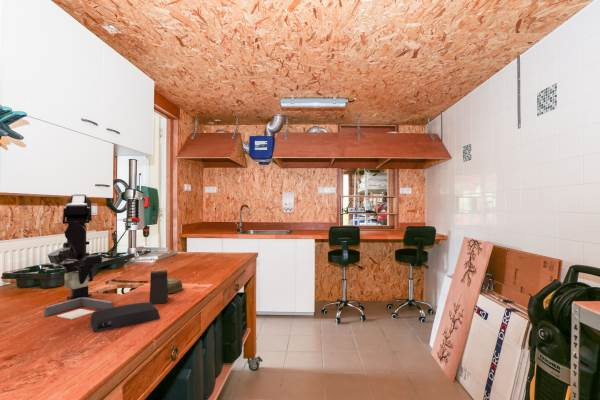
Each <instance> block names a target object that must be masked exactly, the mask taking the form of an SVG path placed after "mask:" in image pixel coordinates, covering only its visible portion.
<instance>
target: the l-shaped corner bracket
mask: <svg viewBox="0 0 600 400" xmlns="http://www.w3.org/2000/svg"><path fill="white" fill-rule="evenodd" d="M79 307H85V308H89V309H90V308H91V309H96V310H102V309H107V308H111V307H114V301H109V300H104V299H103V300H102V299H98V298H97V299H96V298H91V297H81V298H77V299H70V300H66V301H63V302H58V303H55V304H52V305H48V306H44V309H43V310H44V314H43V315H44V316H45V317H50V316H51V315H56V314H58V315H56V317H58V318H61V319H65V320H66V319H67V320H71V321H72V320H75V319H78V318H79V319H80V318H82V317H84V316H87V315H92V313H93V312H95V310H89V309H85V308H84V309H83V308H79ZM77 308H79V309H77ZM73 309H74V310H73ZM70 310H72V311H70ZM66 311H68V312H66ZM62 312H64V313H62ZM60 313H61V314H60Z"/></svg>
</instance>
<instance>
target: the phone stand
mask: <svg viewBox="0 0 600 400" xmlns="http://www.w3.org/2000/svg"><path fill="white" fill-rule="evenodd" d="M167 278H168V270H153V271H150V280H149V281H150V283H149V285H150V286H149V301H148V302H150V303H151V304H152V305H162V304H163V305H164V304H167V302H168V299H169V293H168V281H167Z"/></svg>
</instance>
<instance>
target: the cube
mask: <svg viewBox="0 0 600 400" xmlns="http://www.w3.org/2000/svg"><path fill="white" fill-rule="evenodd" d="M85 286H88V287H89V282H88V276H87V278H86V280H85V282H84V283H83V284H80V282H79V273H78V271H76V272H75V271H73V272H70V273H66V272H65V273H64V289H68V290H69V289H70V290H71V289H77V288H81V287H85Z"/></svg>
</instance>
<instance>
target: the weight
mask: <svg viewBox="0 0 600 400" xmlns="http://www.w3.org/2000/svg"><path fill="white" fill-rule="evenodd" d="M167 281H168V294H173V293H176V292H179V291H181V290H182V289H183V282H182V281H181V279H179V278H175V277H167Z"/></svg>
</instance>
